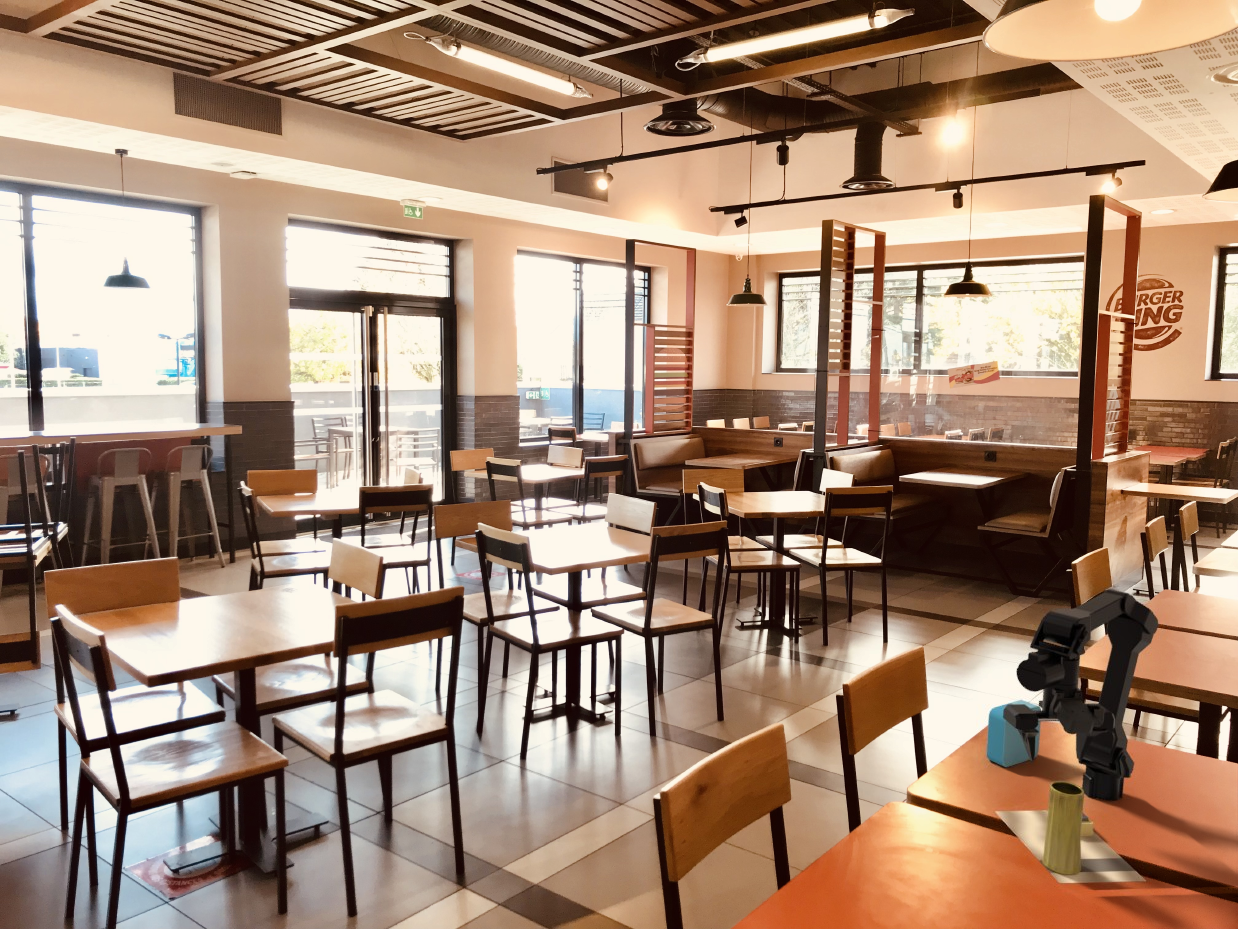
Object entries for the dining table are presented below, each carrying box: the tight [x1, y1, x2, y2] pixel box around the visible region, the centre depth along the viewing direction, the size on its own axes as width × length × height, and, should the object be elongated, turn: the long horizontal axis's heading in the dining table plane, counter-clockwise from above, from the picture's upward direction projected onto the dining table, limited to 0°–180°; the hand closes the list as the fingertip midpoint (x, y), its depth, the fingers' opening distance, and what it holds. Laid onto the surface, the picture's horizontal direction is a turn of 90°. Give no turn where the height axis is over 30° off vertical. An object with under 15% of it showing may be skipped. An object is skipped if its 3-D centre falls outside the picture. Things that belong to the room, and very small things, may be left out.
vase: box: [1042, 780, 1085, 875], centre depth 160 cm, size 6×6×14 cm
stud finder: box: [1081, 812, 1094, 836], centre depth 174 cm, size 7×4×3 cm, turn 3°
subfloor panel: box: [995, 809, 1147, 884], centre depth 168 cm, size 15×24×1 cm, turn 3°
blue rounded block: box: [986, 699, 1042, 768], centre depth 203 cm, size 12×4×12 cm, turn 120°
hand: (1055, 759), depth 174 cm, fingers open, 9 cm apart
